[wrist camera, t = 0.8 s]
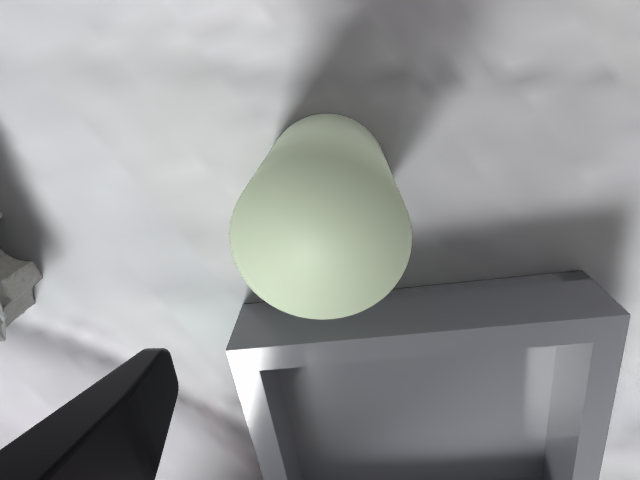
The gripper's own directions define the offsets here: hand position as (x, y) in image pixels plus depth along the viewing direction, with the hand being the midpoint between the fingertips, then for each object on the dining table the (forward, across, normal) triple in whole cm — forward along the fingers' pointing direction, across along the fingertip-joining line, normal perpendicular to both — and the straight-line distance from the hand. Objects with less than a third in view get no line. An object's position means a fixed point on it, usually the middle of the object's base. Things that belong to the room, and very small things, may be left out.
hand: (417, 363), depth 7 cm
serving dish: (+11, -2, +13) cm, 17 cm away
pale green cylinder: (+12, +2, 0) cm, 12 cm away
